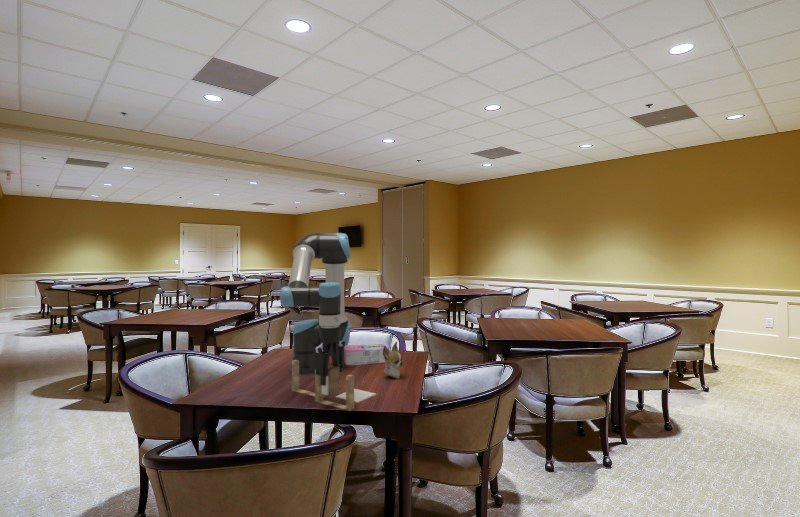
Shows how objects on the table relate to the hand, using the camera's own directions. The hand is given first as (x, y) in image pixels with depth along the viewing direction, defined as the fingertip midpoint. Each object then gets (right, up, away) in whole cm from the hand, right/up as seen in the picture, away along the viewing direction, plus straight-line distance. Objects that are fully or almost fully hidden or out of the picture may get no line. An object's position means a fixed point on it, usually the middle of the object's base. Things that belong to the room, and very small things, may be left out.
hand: (330, 391), depth 150 cm
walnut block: (0, -1, 0) cm, 1 cm away
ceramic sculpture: (+22, -5, +36) cm, 42 cm away
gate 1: (-11, -5, +14) cm, 19 cm away
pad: (+8, -5, +11) cm, 15 cm away
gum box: (+9, -1, +59) cm, 59 cm away
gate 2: (+1, -5, +1) cm, 6 cm away
